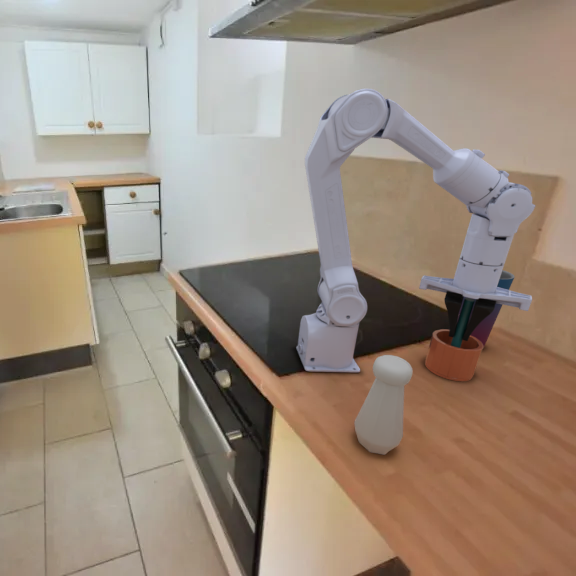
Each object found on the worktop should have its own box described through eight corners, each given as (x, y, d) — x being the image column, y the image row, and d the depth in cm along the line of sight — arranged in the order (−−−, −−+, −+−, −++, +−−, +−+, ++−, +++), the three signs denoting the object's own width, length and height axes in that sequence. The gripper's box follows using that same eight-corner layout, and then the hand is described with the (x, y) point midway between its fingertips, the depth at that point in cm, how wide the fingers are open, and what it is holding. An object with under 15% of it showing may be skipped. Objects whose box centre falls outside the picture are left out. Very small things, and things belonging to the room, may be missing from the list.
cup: (476, 335, 78) (498, 266, 72) (497, 353, 71) (524, 279, 66) (441, 334, 78) (461, 265, 73) (459, 351, 72) (482, 278, 66)
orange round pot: (438, 380, 64) (448, 350, 61) (417, 357, 70) (424, 328, 68) (482, 381, 64) (493, 351, 61) (456, 358, 70) (465, 329, 68)
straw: (455, 352, 65) (471, 301, 61) (447, 348, 66) (462, 298, 62) (461, 350, 65) (476, 300, 61) (453, 346, 66) (468, 297, 63)
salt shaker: (375, 465, 48) (397, 379, 43) (342, 434, 52) (357, 354, 48) (408, 451, 50) (432, 368, 45) (373, 422, 55) (391, 344, 50)
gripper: (424, 257, 60) (406, 332, 66) (544, 277, 52) (512, 361, 57) (431, 248, 66) (413, 317, 71) (541, 264, 57) (512, 342, 63)
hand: (458, 336), depth 64 cm, fingers closed on straw, 1 cm apart
